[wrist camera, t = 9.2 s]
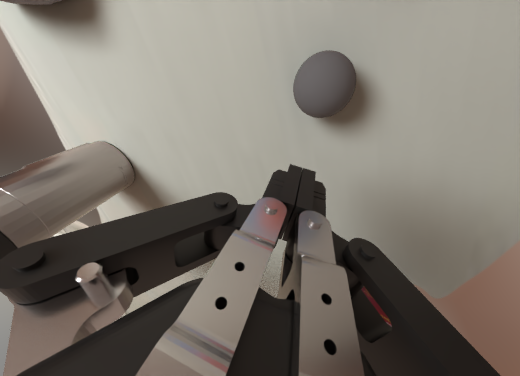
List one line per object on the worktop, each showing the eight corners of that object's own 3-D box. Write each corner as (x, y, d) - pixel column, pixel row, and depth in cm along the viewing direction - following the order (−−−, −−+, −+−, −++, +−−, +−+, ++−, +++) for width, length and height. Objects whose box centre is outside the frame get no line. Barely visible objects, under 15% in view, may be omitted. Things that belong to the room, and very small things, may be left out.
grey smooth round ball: (290, 68, 15) (312, 28, 17) (281, 118, 20) (299, 83, 22) (360, 90, 14) (374, 46, 16) (332, 136, 19) (346, 99, 21)
